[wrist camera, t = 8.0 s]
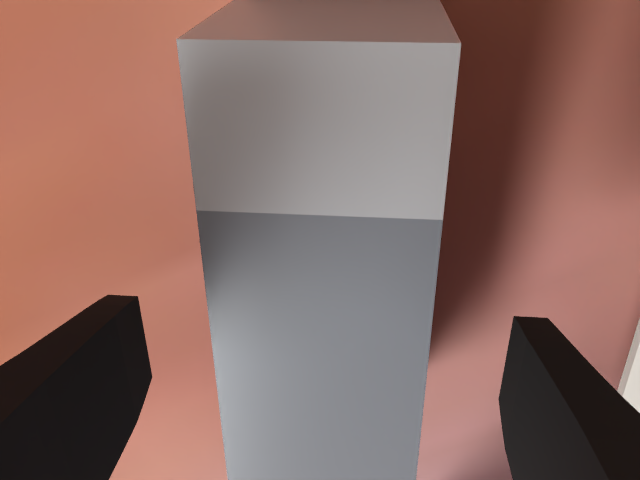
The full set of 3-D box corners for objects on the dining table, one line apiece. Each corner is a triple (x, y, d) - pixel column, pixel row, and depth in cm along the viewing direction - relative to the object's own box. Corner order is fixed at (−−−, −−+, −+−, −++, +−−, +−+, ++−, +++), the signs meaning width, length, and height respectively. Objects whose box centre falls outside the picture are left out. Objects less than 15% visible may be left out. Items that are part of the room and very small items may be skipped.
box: (265, 366, 19) (230, 503, 15) (241, -6, 14) (176, 39, 10) (406, 375, 19) (412, 517, 15) (437, -5, 14) (460, 43, 9)
